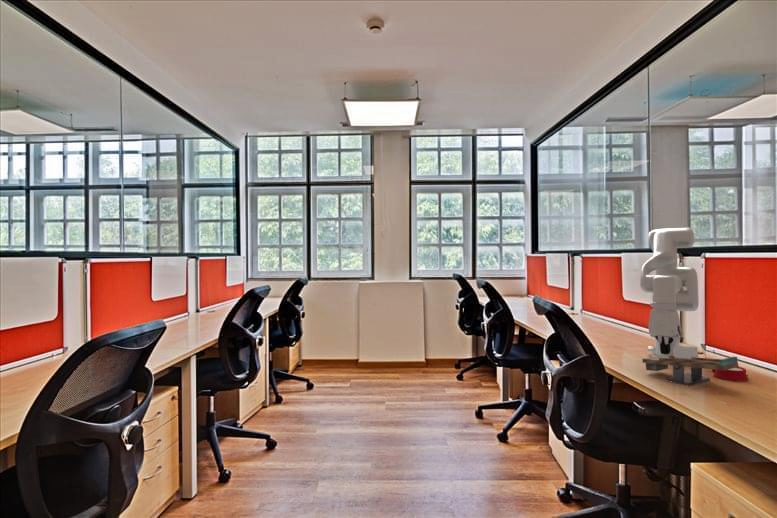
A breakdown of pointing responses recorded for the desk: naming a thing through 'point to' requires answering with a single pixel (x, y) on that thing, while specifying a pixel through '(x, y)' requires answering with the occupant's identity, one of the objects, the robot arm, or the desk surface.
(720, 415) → the desk surface
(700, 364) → the beam
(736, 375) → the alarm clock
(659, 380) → the desk surface
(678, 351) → the rider
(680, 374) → the stand
